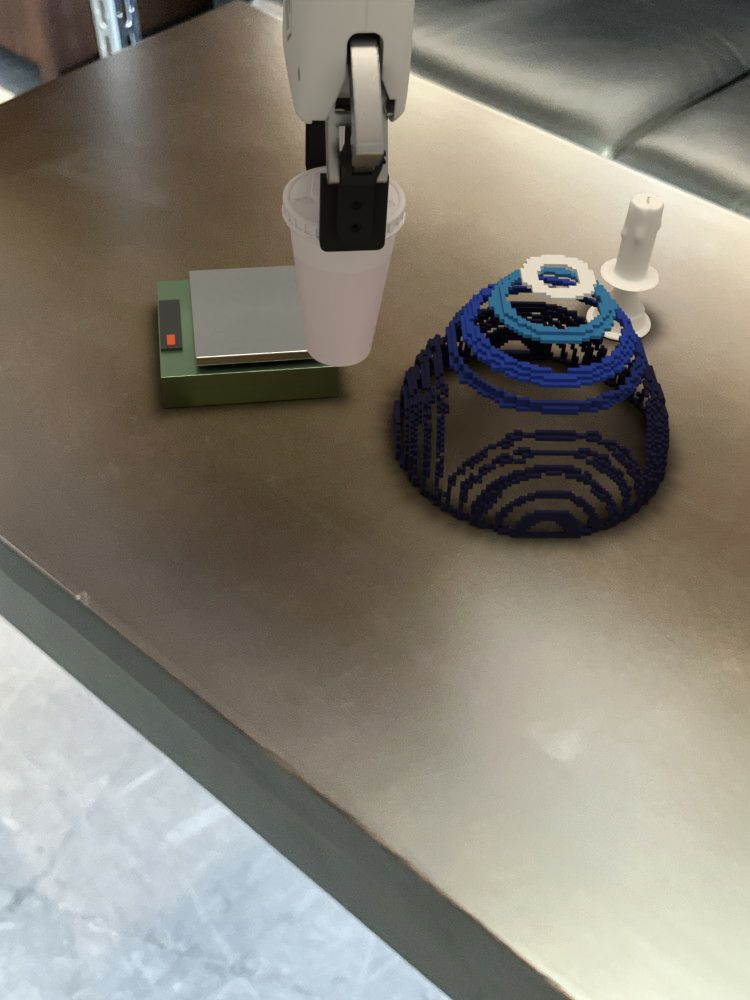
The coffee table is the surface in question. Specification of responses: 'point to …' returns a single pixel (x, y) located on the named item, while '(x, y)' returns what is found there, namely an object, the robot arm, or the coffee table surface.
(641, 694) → the coffee table surface
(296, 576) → the coffee table surface
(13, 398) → the coffee table surface
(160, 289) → the scale
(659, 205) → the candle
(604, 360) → the decorative bowl
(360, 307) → the smoothie
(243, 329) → the scale platform
